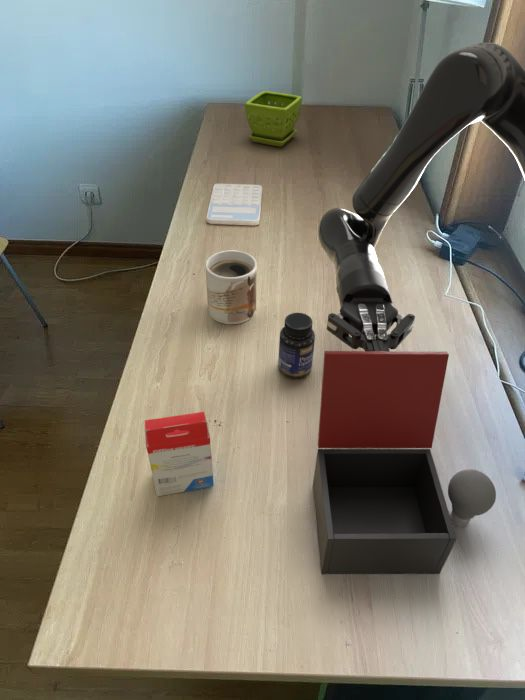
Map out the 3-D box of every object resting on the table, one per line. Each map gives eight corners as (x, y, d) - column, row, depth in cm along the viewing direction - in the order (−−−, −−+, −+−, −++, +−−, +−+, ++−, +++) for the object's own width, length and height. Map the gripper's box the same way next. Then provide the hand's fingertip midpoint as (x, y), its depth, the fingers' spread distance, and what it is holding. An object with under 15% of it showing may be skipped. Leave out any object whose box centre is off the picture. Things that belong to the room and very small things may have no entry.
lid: (449, 354, 71) (447, 351, 71) (325, 353, 70) (324, 350, 71) (431, 448, 77) (430, 444, 78) (318, 448, 77) (317, 444, 77)
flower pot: (300, 136, 184) (303, 95, 175) (284, 151, 174) (286, 109, 165) (261, 129, 188) (262, 88, 179) (243, 143, 178) (243, 102, 170)
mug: (198, 301, 116) (195, 255, 109) (249, 285, 121) (249, 240, 113) (221, 330, 109) (219, 283, 102) (274, 312, 114) (276, 266, 107)
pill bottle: (302, 384, 99) (306, 337, 91) (271, 372, 101) (273, 324, 94) (317, 364, 103) (322, 316, 96) (287, 352, 105) (290, 305, 98)
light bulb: (478, 506, 81) (499, 464, 74) (481, 544, 77) (504, 502, 70) (436, 498, 82) (452, 456, 75) (437, 535, 78) (455, 493, 71)
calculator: (262, 190, 154) (262, 183, 153) (259, 226, 140) (259, 219, 138) (214, 188, 155) (213, 181, 153) (205, 224, 140) (205, 217, 138)
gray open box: (440, 573, 74) (456, 539, 68) (321, 574, 73) (327, 539, 67) (417, 485, 84) (430, 448, 78) (312, 485, 83) (317, 448, 77)
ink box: (209, 461, 86) (204, 395, 76) (214, 488, 83) (210, 422, 73) (153, 470, 85) (141, 404, 75) (155, 498, 81) (143, 432, 71)
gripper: (321, 266, 84) (333, 343, 71) (409, 267, 84) (437, 343, 71) (317, 306, 89) (327, 384, 76) (400, 307, 89) (424, 385, 76)
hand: (380, 364), depth 74 cm, fingers closed
